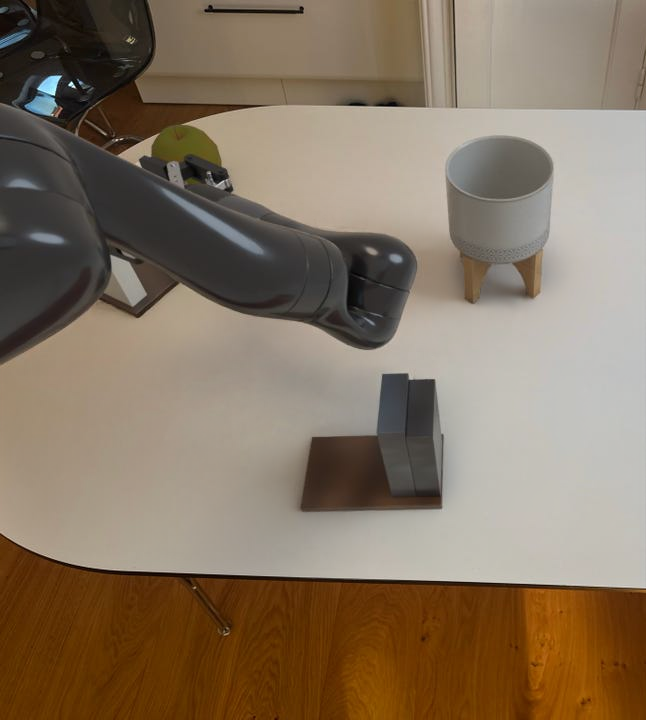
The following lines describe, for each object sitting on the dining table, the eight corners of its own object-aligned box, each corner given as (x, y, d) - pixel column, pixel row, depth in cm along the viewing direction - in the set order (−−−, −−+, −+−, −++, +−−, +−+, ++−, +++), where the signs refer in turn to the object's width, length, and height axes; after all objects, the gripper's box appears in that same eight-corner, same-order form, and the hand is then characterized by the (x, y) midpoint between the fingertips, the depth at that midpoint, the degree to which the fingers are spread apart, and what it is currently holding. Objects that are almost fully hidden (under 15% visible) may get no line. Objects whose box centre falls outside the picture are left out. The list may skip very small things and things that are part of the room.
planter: (564, 269, 98) (575, 160, 84) (507, 323, 92) (508, 215, 78) (492, 231, 103) (491, 123, 89) (433, 280, 97) (422, 171, 83)
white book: (132, 307, 94) (92, 238, 85) (101, 292, 96) (58, 222, 87) (147, 294, 95) (109, 225, 86) (116, 280, 97) (75, 210, 88)
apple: (155, 186, 112) (127, 124, 103) (211, 161, 116) (188, 100, 107) (183, 216, 107) (156, 154, 98) (240, 190, 111) (219, 128, 102)
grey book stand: (301, 511, 75) (270, 444, 65) (313, 440, 81) (286, 368, 71) (442, 508, 75) (433, 440, 65) (443, 437, 81) (435, 364, 70)
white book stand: (138, 318, 94) (93, 241, 83) (91, 295, 97) (42, 218, 86) (224, 243, 103) (194, 165, 92) (179, 224, 106) (145, 147, 95)
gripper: (268, 163, 70) (149, 120, 75) (162, 248, 62) (38, 193, 67) (285, 222, 76) (174, 179, 81) (191, 307, 68) (74, 253, 73)
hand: (112, 186), depth 74 cm, fingers open, 8 cm apart
